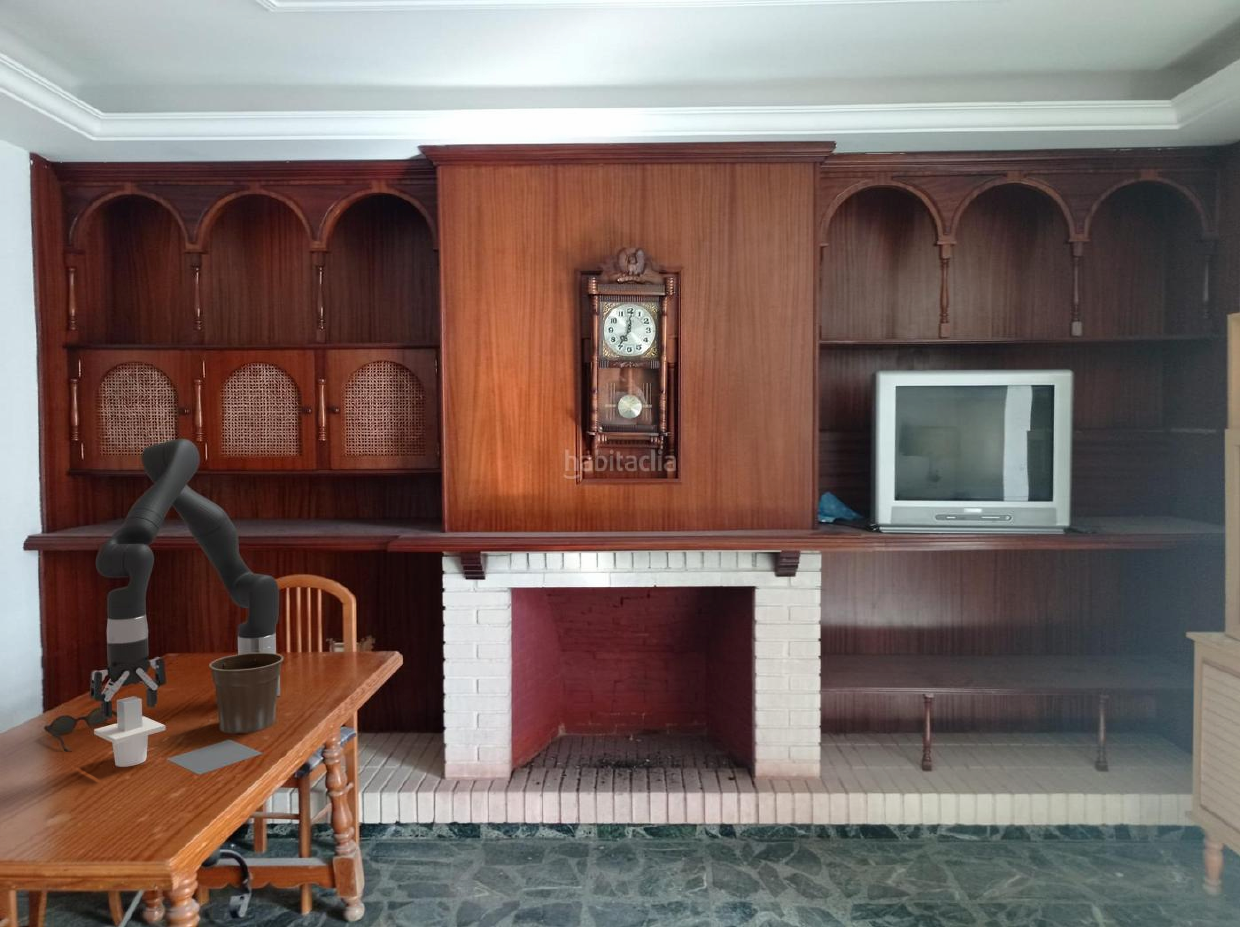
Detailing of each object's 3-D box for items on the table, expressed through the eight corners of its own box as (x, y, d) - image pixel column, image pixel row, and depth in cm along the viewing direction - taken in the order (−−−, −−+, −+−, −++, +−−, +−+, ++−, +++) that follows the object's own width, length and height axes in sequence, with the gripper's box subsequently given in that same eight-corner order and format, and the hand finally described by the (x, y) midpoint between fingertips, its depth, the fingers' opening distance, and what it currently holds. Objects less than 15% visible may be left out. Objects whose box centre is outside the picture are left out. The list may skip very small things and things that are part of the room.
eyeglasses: (113, 722, 206) (113, 702, 205) (138, 736, 196) (137, 715, 196) (44, 739, 194) (43, 718, 194) (67, 755, 185) (66, 733, 185)
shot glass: (132, 771, 175) (131, 738, 175) (104, 769, 176) (103, 736, 176) (156, 759, 182) (155, 727, 181) (129, 756, 183) (128, 725, 183)
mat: (229, 741, 191) (229, 739, 191) (263, 755, 183) (263, 753, 183) (166, 761, 180) (166, 758, 180) (199, 777, 172) (199, 774, 172)
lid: (143, 720, 186) (142, 689, 185) (165, 729, 180) (164, 697, 179) (94, 733, 177) (93, 701, 177) (115, 744, 172) (114, 710, 171)
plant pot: (253, 711, 212) (251, 648, 211) (299, 720, 205) (297, 656, 204) (195, 732, 197) (193, 665, 197) (243, 743, 190) (241, 673, 190)
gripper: (154, 628, 186) (156, 700, 186) (83, 641, 174) (85, 718, 175) (170, 633, 181) (172, 706, 182) (98, 647, 170) (101, 725, 170)
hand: (129, 712), depth 178 cm, fingers open, 8 cm apart
